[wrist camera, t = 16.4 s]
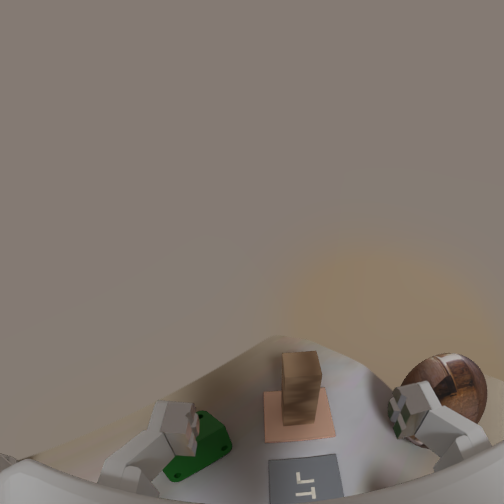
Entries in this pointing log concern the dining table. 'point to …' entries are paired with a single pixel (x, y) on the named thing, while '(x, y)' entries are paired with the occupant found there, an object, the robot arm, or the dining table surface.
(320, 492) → the gray tile
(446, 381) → the brown metallic ball
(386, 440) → the dining table surface
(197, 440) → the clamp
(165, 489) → the dining table surface
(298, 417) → the walnut block
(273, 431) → the coaster
